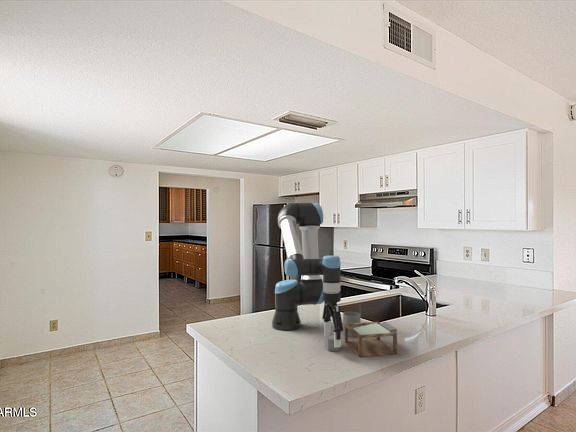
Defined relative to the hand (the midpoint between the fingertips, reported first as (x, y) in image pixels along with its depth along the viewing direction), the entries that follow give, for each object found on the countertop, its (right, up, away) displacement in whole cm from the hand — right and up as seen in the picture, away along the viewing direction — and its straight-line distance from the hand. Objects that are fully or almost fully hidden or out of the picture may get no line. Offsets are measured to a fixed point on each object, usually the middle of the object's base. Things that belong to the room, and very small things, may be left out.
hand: (332, 341), depth 151 cm
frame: (+16, -3, +1) cm, 16 cm away
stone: (0, -3, 0) cm, 3 cm away
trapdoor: (+18, +4, +1) cm, 18 cm away
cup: (+12, -3, +18) cm, 22 cm away
